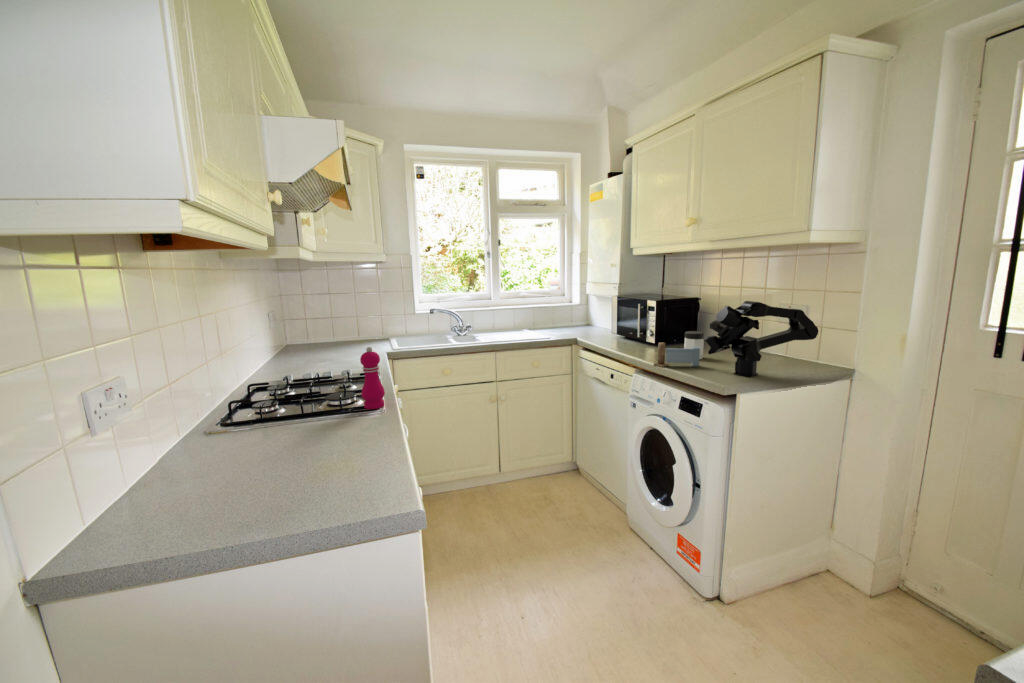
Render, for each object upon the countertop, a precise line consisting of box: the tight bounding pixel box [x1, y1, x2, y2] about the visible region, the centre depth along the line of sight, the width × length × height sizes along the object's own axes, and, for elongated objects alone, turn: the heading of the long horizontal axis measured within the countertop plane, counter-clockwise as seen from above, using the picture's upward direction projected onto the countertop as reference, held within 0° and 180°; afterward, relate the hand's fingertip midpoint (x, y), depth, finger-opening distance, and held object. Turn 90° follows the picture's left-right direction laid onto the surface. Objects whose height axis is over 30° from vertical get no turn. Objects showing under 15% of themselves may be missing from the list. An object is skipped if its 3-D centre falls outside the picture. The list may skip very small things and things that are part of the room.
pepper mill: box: [360, 346, 386, 410], centre depth 135 cm, size 7×7×20 cm
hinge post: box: [653, 342, 670, 368], centre depth 179 cm, size 4×4×10 cm
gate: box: [665, 347, 700, 367], centre depth 178 cm, size 13×2×8 cm, turn 79°
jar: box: [683, 330, 705, 360], centre depth 192 cm, size 9×8×12 cm
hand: (709, 353), depth 171 cm, fingers closed
